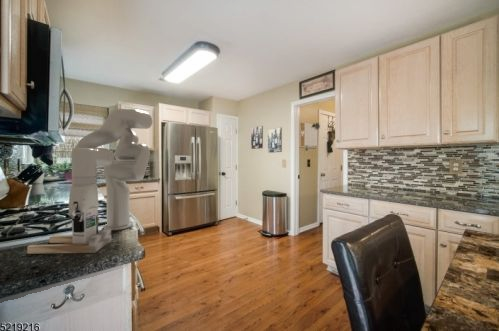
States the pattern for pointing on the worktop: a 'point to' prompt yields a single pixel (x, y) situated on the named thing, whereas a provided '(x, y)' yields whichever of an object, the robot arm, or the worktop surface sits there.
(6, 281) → the worktop surface
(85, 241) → the syrup box
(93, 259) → the worktop surface
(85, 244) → the rail channel
